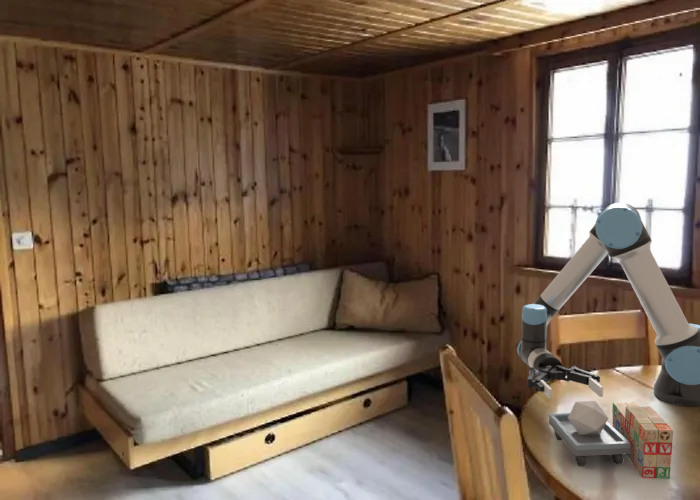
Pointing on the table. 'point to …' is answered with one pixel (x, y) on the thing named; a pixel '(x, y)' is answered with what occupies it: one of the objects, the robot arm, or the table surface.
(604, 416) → the die
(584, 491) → the table surface
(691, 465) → the table surface
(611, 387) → the table surface
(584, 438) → the trolley
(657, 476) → the stack of blocks
